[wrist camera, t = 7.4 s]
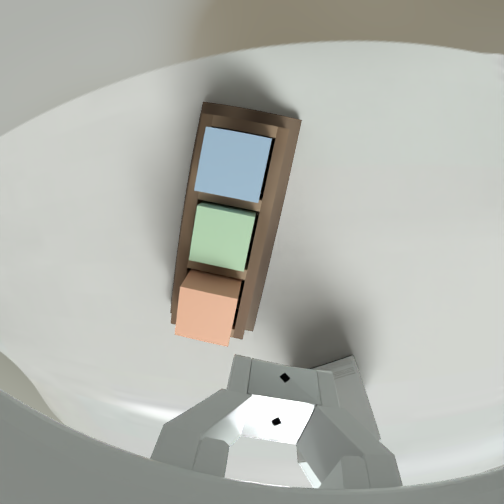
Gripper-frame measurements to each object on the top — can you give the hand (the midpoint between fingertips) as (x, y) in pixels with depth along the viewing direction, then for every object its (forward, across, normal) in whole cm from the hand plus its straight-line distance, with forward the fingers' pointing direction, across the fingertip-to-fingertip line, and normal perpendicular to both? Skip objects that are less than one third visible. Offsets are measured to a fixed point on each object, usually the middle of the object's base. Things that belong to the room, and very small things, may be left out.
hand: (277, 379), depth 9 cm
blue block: (+21, +5, -5) cm, 22 cm away
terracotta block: (+21, +5, +9) cm, 23 cm away
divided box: (+26, +5, +2) cm, 26 cm away
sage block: (+24, +5, +2) cm, 24 cm away
